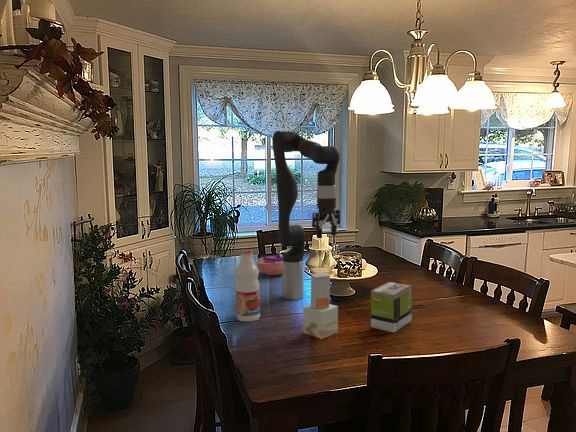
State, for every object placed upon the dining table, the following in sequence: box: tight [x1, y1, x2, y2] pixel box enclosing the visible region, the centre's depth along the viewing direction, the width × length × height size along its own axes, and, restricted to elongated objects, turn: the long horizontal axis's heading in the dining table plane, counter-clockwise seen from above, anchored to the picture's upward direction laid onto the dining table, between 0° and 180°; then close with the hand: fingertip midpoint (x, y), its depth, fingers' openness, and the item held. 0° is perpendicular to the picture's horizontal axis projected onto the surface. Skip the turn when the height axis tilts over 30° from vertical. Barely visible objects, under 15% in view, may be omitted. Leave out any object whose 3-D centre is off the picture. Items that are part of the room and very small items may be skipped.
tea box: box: [370, 281, 413, 333], centre depth 184 cm, size 15×10×15 cm
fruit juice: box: [235, 248, 261, 323], centre depth 193 cm, size 9×9×28 cm
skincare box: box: [310, 272, 331, 309], centre depth 177 cm, size 6×4×12 cm
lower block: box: [302, 319, 339, 340], centre depth 178 cm, size 9×9×5 cm
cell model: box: [255, 252, 283, 276], centre depth 262 cm, size 17×20×11 cm
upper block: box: [302, 303, 339, 326], centre depth 178 cm, size 9×9×5 cm
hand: (326, 236), depth 194 cm, fingers open, 8 cm apart
